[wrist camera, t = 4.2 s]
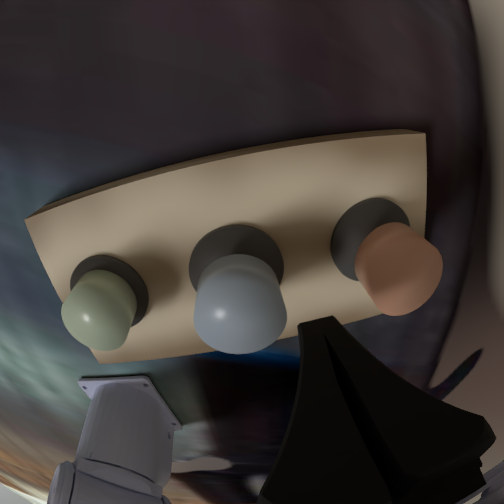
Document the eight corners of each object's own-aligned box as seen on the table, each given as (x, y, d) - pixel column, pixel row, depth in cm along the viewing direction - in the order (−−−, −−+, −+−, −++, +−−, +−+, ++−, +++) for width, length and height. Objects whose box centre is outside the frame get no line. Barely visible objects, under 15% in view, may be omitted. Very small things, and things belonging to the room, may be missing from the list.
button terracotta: (414, 280, 16) (436, 303, 13) (354, 296, 16) (371, 324, 13) (420, 216, 14) (447, 235, 12) (353, 229, 14) (375, 252, 12)
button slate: (282, 313, 16) (291, 344, 13) (209, 327, 16) (207, 359, 13) (271, 246, 14) (281, 273, 12) (187, 263, 14) (181, 292, 12)
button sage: (146, 320, 17) (138, 347, 15) (93, 327, 17) (82, 353, 15) (121, 263, 15) (108, 287, 13) (66, 276, 15) (49, 299, 13)
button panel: (401, 285, 21) (418, 306, 19) (107, 343, 22) (98, 367, 19) (404, 128, 16) (429, 134, 13) (42, 206, 16) (20, 222, 14)
